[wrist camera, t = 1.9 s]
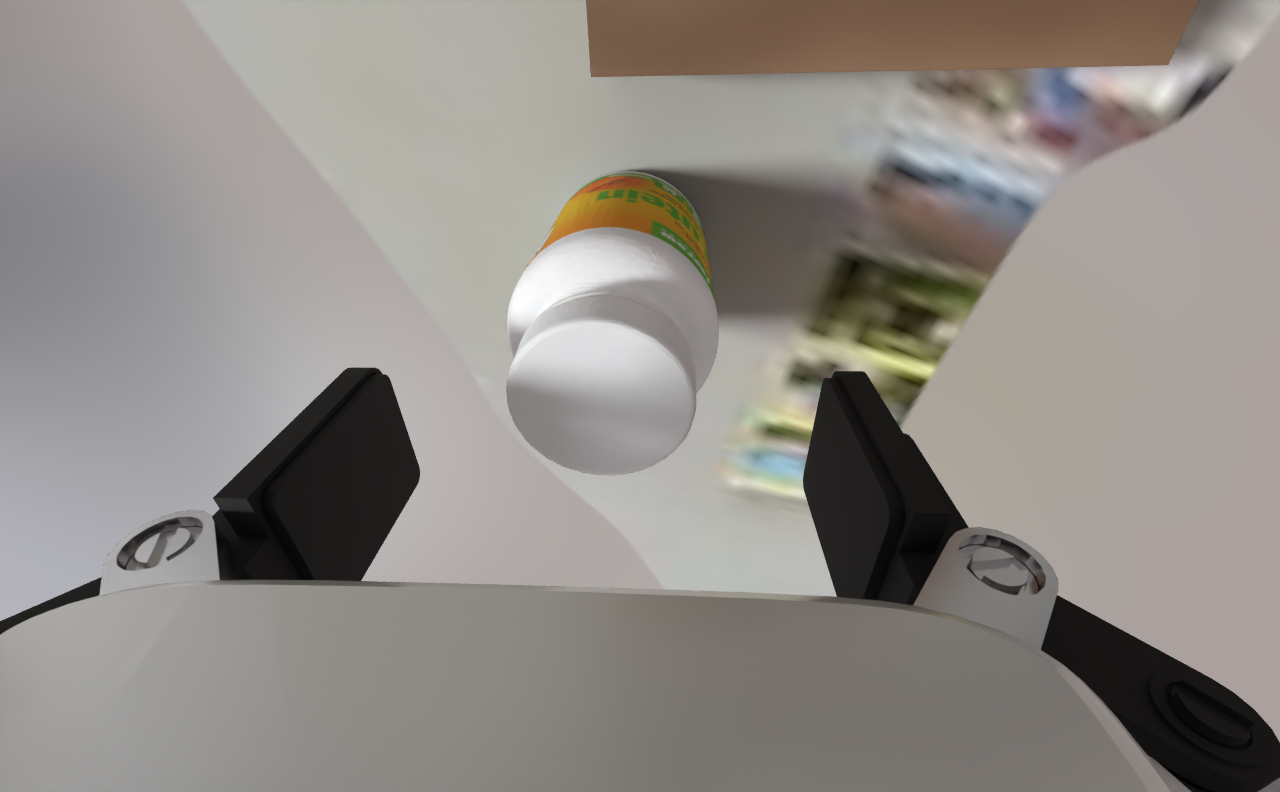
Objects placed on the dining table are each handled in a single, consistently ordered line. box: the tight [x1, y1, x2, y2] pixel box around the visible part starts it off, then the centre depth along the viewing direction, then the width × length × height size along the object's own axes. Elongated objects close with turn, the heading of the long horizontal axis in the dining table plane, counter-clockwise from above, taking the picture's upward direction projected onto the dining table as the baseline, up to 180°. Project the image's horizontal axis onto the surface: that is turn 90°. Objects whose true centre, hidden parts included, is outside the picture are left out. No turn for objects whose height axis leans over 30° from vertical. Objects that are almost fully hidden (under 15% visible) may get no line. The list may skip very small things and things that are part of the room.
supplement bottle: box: [506, 171, 719, 475], centre depth 15 cm, size 5×5×10 cm
